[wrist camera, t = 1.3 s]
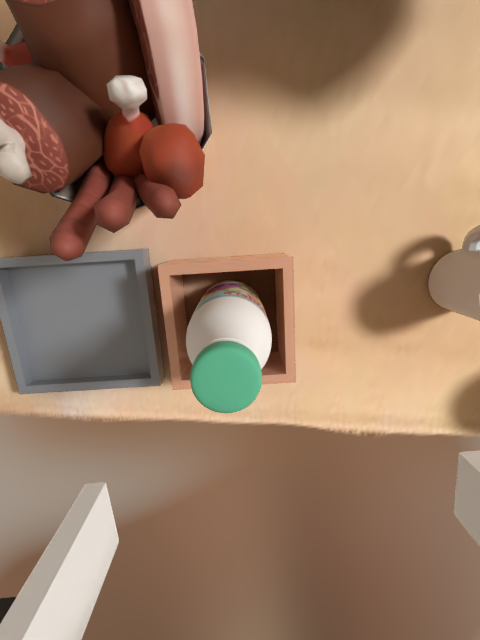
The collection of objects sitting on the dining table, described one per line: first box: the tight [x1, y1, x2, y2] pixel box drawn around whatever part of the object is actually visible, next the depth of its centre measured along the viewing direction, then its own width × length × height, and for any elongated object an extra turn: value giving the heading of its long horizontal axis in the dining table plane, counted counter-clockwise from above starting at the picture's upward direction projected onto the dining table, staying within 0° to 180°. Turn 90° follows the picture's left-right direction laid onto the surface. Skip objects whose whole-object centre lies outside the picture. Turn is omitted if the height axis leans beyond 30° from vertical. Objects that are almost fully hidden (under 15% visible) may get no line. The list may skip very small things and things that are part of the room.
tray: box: [0, 249, 165, 394], centre depth 39 cm, size 16×17×2 cm
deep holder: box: [158, 253, 296, 390], centre depth 36 cm, size 13×13×7 cm
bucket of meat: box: [0, 0, 212, 261], centre depth 26 cm, size 20×16×20 cm
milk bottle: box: [186, 280, 272, 413], centre depth 30 cm, size 8×8×20 cm
